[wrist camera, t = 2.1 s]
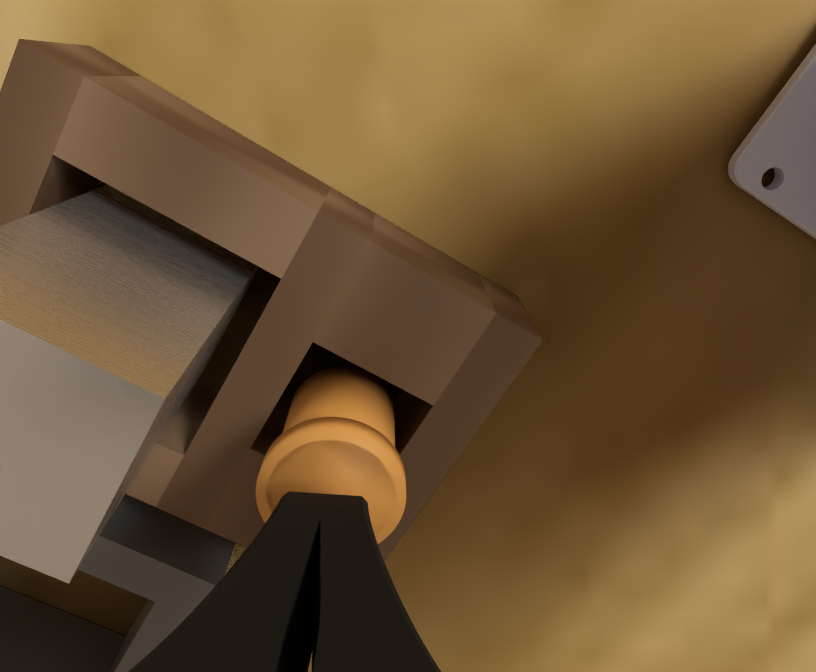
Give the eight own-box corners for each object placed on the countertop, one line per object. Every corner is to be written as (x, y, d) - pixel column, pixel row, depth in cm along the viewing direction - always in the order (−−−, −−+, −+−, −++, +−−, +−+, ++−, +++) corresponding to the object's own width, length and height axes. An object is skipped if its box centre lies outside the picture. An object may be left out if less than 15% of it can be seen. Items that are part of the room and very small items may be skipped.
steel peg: (267, 252, 16) (165, 399, 9) (205, 367, 17) (69, 584, 10) (129, 176, 16) (-107, 268, 8) (73, 301, 17) (-179, 482, 9)
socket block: (517, 296, 17) (542, 340, 14) (363, 522, 19) (358, 597, 17) (90, 46, 15) (19, 39, 12) (-26, 338, 17) (-108, 390, 14)
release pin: (425, 394, 15) (434, 472, 12) (365, 485, 16) (359, 577, 13) (317, 337, 15) (299, 404, 12) (260, 434, 15) (230, 519, 13)
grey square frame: (245, 512, 19) (220, 587, 16) (146, 675, 21) (109, 765, 18) (-1, 400, 18) (-75, 461, 15) (-81, 587, 20) (-158, 670, 17)
